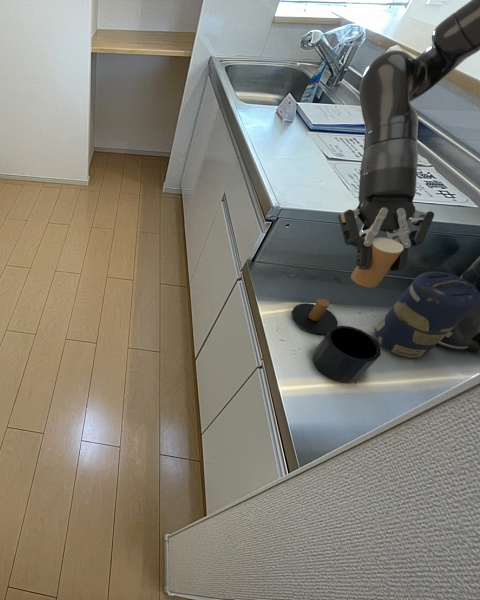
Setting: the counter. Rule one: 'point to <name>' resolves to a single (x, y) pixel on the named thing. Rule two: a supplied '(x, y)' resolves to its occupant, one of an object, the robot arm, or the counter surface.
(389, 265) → the cylinder
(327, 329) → the lid
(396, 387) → the counter surface
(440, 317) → the canister
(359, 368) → the cup
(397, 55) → the robot arm
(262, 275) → the counter surface
